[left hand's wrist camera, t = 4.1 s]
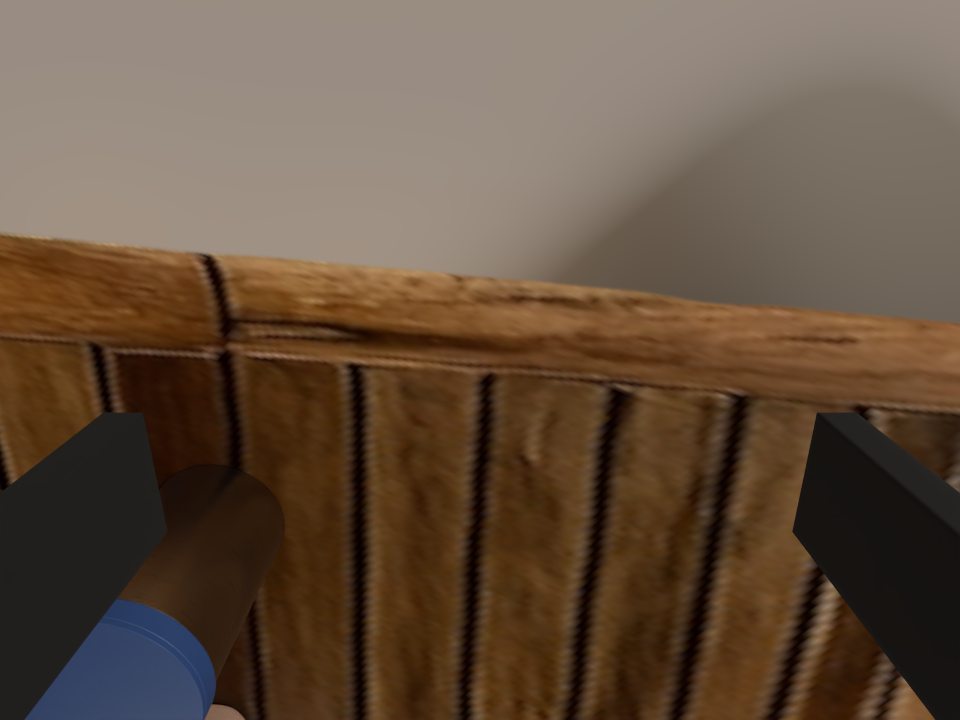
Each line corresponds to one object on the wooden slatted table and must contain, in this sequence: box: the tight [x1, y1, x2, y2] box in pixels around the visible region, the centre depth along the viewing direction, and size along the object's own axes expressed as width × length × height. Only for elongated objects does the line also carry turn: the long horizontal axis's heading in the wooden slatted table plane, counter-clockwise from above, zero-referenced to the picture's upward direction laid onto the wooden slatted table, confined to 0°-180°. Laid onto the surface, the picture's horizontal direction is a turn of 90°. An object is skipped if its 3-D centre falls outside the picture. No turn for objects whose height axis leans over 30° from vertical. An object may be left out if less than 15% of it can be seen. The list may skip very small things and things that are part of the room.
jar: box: [117, 465, 284, 680], centre depth 39 cm, size 9×9×15 cm
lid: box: [25, 599, 216, 720], centre depth 33 cm, size 10×10×2 cm
